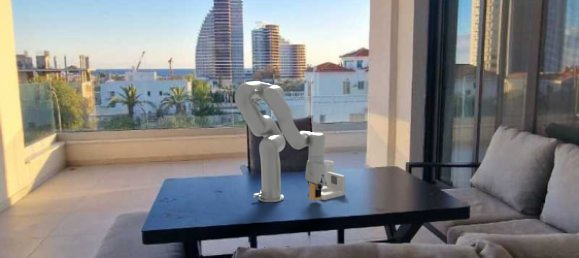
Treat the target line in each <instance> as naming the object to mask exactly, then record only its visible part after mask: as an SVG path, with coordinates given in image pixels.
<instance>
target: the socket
mask: <svg viewBox="0 0 579 258" xmlns="http://www.w3.org/2000/svg"><path fill="white" fill-rule="evenodd" d="M345 195H346V176H345V175H344V174H340V173H336V172H334V173H333V172H330V171H329V172H327V182H326V185H325V186H324V187H323V188H322V189H321V200H323V201H326V200H331V199H334V198H340V197H343V196H345Z"/></svg>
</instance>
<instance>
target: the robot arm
mask: <svg viewBox="0 0 579 258" xmlns="http://www.w3.org/2000/svg"><path fill="white" fill-rule="evenodd" d="M253 99H259V100H263V102H264V103H265V104H266V106H267V107H268V109H269V110H270V111H271V112H272V114H273V116H274V117H275V119H276V120H277V122H278V125H277V123H276V122H275V119H273V118H272V117H271V116H270V115H267V114H266V115H263V113H261V111H260V109H259V107H258V106H257V104H256V103H254V101H253ZM234 102H235V105H236V107H237V109H238V110H239V112H240V114H241V115H242V118H243V119H244V120H245V122H246V125H247V126H248V128H249V130H250V131H251V133H252V135H254V136H256V137H263V138H262V139H261V141H260V143H259V144H258V149H259V156H260V169H261V170H260V171H261V172H260V173H261V189H260V190H259V192H258V193H253V194H252V196H253V199H256V198H258V200H259V201H261V202H263V203H278V202H281V201H283V200H284V199H285V196H284V194H282V185H281V184H282V183H281V180H282V179H281V178H282V177H281V159H280V158H281V157H280V152H282V151H283V150H284V148H285V146H286V141H287V143H288V144H289V146H291V147H292V148H293V149H295V150H301V149H304V148H305V147H308V160H307V162H306V166H305V180H306V181H307V183H308V188H310V183H311V182H312V183H315V184H316V190H315V197H316V198H317V197H321V189H322V188H323V187H324V186H327V182H325V164H324V160H325V153H326V152H325V151H326V150H325V149H326V146H325V145H326V135H325V134H324V133H322V132H311V131H306V130H299V129H298V128H297V126H296V123H295V122H294V120H293V109H292V108H291V107H290V105H289V104H288V102H287V101H286V99H285V91H284V89H283V88H282V87H281V86H280V85H275V84H270V83H266V82H263V81H258V80H257V81H256V80H254V81H246V82H242V83H241V84H240V85H239V86H237V88H236V89H235V93H234ZM318 184H320V185H318Z"/></svg>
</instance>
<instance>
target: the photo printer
mask: <svg viewBox="0 0 579 258" xmlns="http://www.w3.org/2000/svg"><path fill="white" fill-rule="evenodd" d="M324 164H325V183H327V172H329V171H330V172H333V173H335V162H334V161H333V160H328V159H324Z"/></svg>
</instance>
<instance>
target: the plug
mask: <svg viewBox="0 0 579 258" xmlns="http://www.w3.org/2000/svg"><path fill="white" fill-rule="evenodd" d="M318 185H320V184H318ZM308 188H309V187H308ZM315 190H316V184H315V183H312V182H311V183H310V188H309V189H308V199H309V200H312V201H313V202H314V201H315V202H316V201H320V200H322V199H321V197H317V198H316V197H315Z"/></svg>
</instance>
